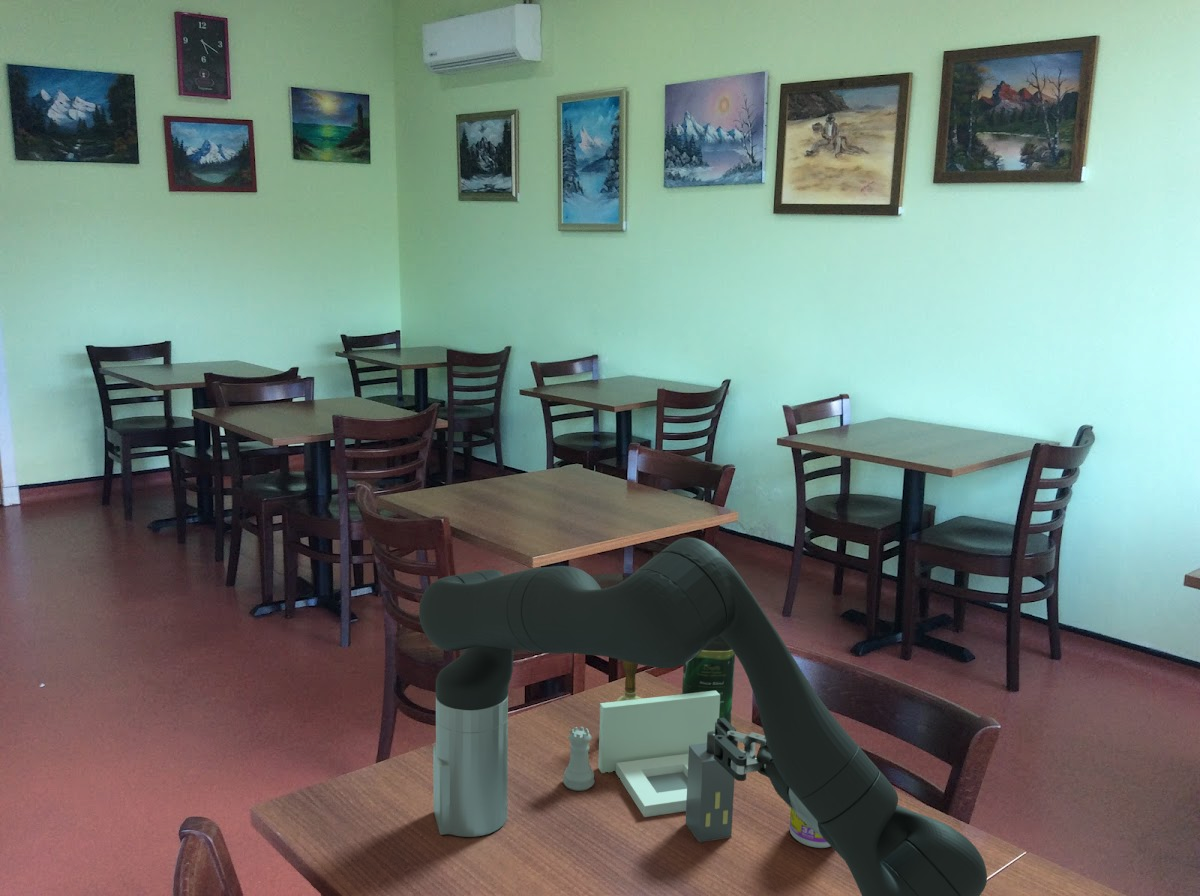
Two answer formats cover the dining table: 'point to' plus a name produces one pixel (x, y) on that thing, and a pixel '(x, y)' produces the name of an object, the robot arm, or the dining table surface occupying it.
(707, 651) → the coffee jar
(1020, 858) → the dining table surface
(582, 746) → the rook chess piece
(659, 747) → the socket
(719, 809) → the plug
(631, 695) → the hand bell
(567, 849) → the dining table surface
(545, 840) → the dining table surface
